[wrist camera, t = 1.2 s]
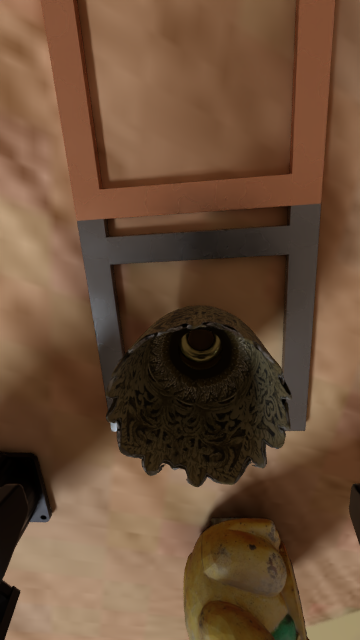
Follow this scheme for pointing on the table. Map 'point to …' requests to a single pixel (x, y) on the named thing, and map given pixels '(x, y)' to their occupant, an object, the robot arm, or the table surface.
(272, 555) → the decorative figurine
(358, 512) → the robot arm
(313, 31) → the rectangular frame
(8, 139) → the table surface
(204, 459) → the dark ridged bell shape
